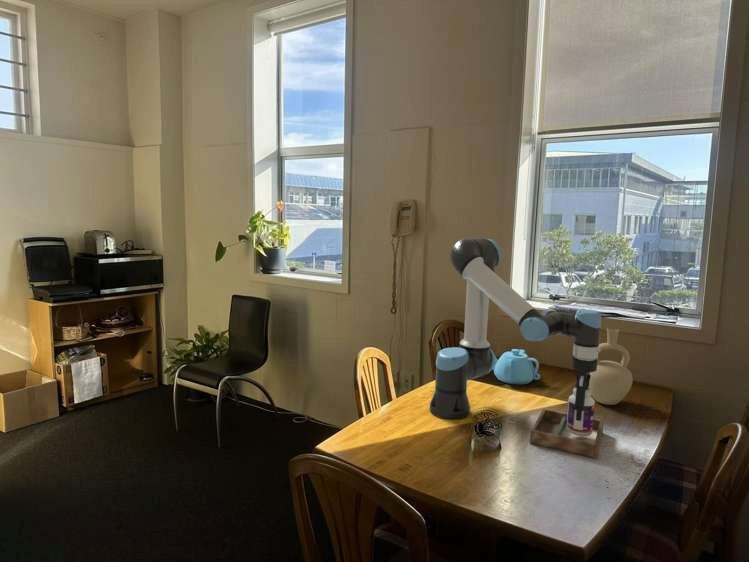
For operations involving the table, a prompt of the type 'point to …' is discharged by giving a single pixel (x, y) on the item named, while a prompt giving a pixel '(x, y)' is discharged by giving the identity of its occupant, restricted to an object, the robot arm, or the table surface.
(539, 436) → the crate
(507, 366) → the teapot
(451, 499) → the table surface
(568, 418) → the pill bottle
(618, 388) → the vase
